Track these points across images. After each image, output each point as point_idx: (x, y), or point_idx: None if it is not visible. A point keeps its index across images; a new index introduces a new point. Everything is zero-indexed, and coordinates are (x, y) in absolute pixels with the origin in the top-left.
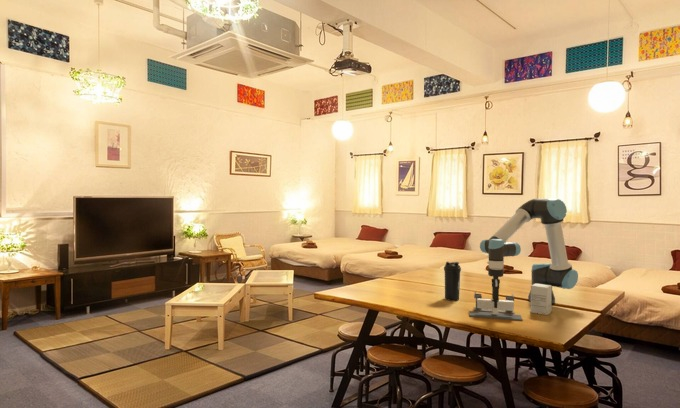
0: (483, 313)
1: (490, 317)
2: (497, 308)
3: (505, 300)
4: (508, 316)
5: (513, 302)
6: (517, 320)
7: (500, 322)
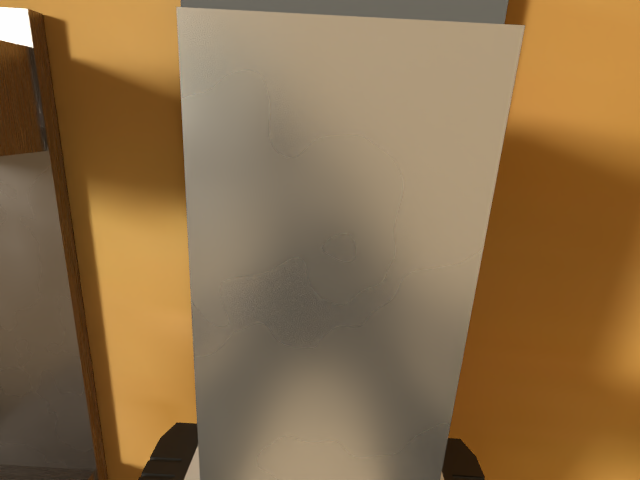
0: None
1: None
2: None
3: (230, 339)
4: None
5: (517, 43)
6: None
7: (625, 309)
